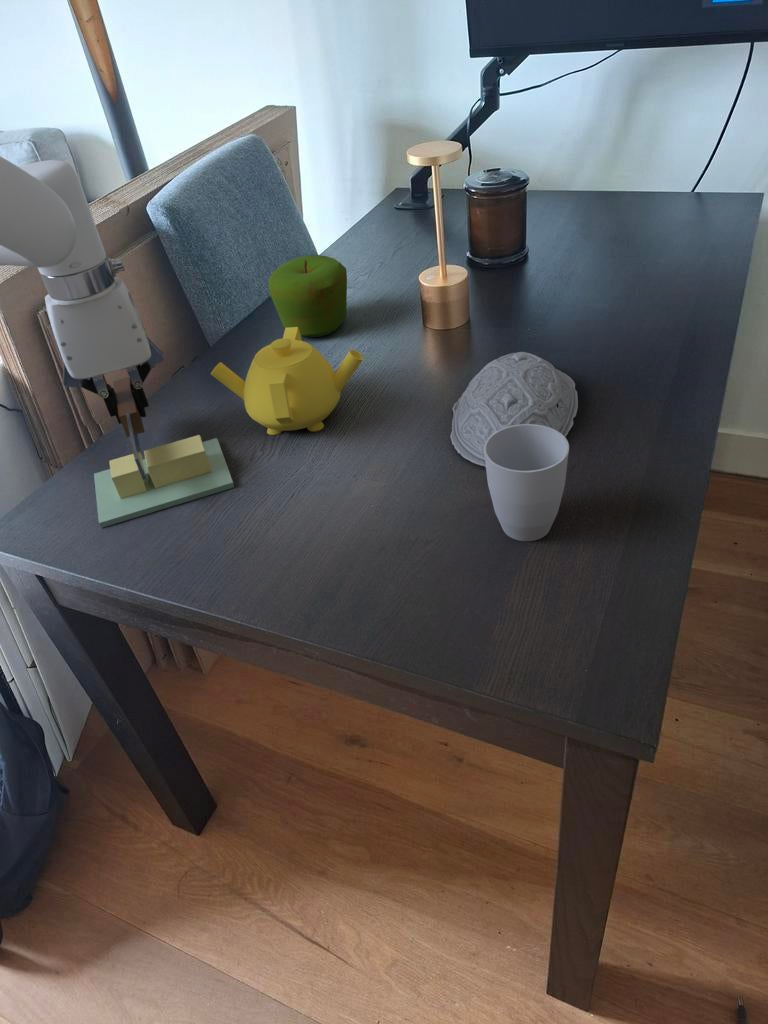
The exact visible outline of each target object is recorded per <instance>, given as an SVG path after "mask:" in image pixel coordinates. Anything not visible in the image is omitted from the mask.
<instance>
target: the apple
mask: <svg viewBox="0 0 768 1024" xmlns="http://www.w3.org/2000/svg"><path fill="white" fill-rule="evenodd" d="M268 289H269V295H270V298H271V301H272V302H273V305H274V308H275V309H276V312H277V314H278V316H279V320H280V322H281V324H282V326H283V328H284V329H285V328H290V327H298V329H299V332H300V335H301V337H309V338H321V337H324V336H328V335H330V334H331V333H333V332H336V330H337V329H338V328H339V327H340V326H341V325H342V323H343V322H345V320H346V319H347V314H348V313H347V310H348V309H347V308H348V307H347V306H348V305H347V302H348V273H347V268H346V267H345V266H344V265H343V264H342V263H341V262H340V261H338V260H337V259H336V258H334V257H331V256H327V255H320V254H319V255H318V254H310V255H302V256H298V257H295V258H293V259H290V260H288V261H286V262H285V263H283V264H281V265H279V266H278V267H277V268H276V269H275V270H274V271H273V272H272V273H271V275H270V276H269V277H268Z"/></svg>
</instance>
